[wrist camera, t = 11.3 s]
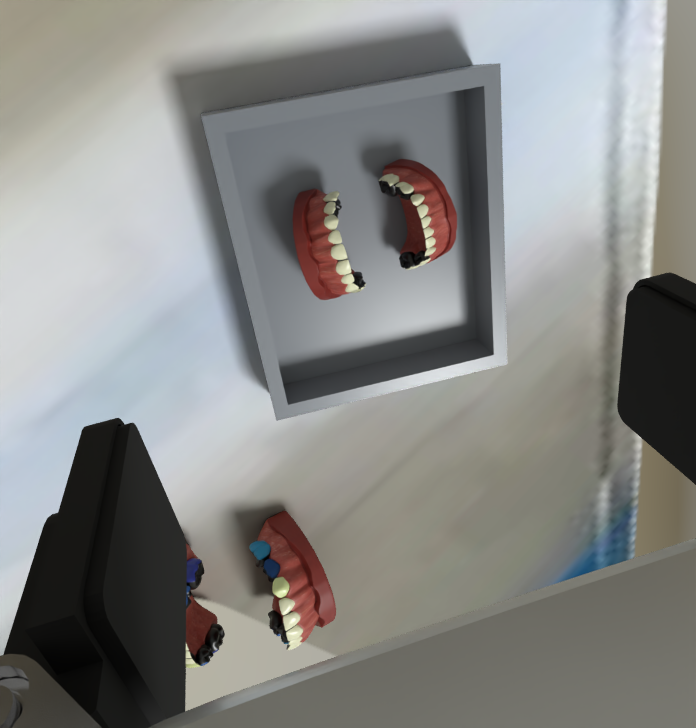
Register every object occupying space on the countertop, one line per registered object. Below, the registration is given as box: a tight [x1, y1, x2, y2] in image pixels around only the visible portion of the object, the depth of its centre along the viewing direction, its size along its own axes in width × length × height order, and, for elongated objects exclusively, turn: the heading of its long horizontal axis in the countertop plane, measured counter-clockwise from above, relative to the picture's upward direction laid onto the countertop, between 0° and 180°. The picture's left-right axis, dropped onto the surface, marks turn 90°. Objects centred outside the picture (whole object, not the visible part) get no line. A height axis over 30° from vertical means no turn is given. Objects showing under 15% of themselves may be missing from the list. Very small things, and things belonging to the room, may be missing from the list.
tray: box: [201, 64, 507, 420], centre depth 30 cm, size 16×14×3 cm
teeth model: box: [186, 511, 336, 668], centre depth 37 cm, size 8×6×12 cm
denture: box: [293, 159, 457, 300], centre depth 29 cm, size 6×4×8 cm
